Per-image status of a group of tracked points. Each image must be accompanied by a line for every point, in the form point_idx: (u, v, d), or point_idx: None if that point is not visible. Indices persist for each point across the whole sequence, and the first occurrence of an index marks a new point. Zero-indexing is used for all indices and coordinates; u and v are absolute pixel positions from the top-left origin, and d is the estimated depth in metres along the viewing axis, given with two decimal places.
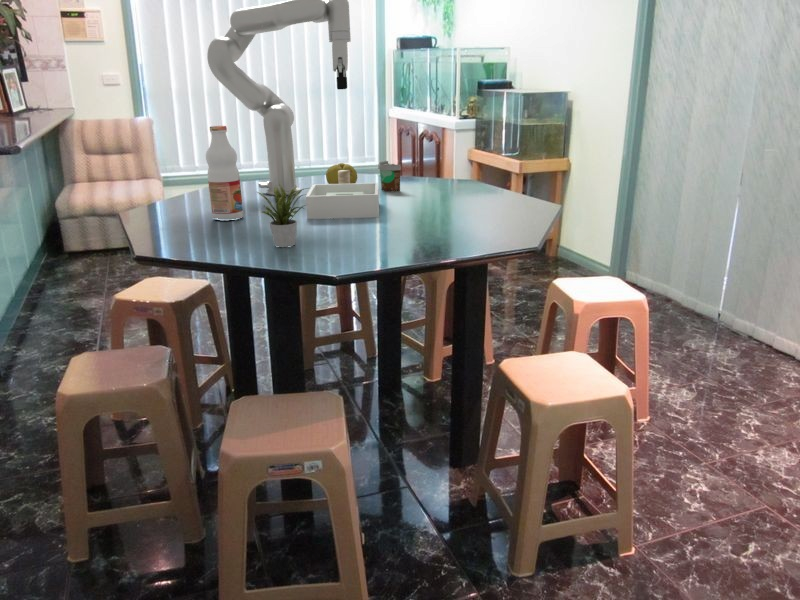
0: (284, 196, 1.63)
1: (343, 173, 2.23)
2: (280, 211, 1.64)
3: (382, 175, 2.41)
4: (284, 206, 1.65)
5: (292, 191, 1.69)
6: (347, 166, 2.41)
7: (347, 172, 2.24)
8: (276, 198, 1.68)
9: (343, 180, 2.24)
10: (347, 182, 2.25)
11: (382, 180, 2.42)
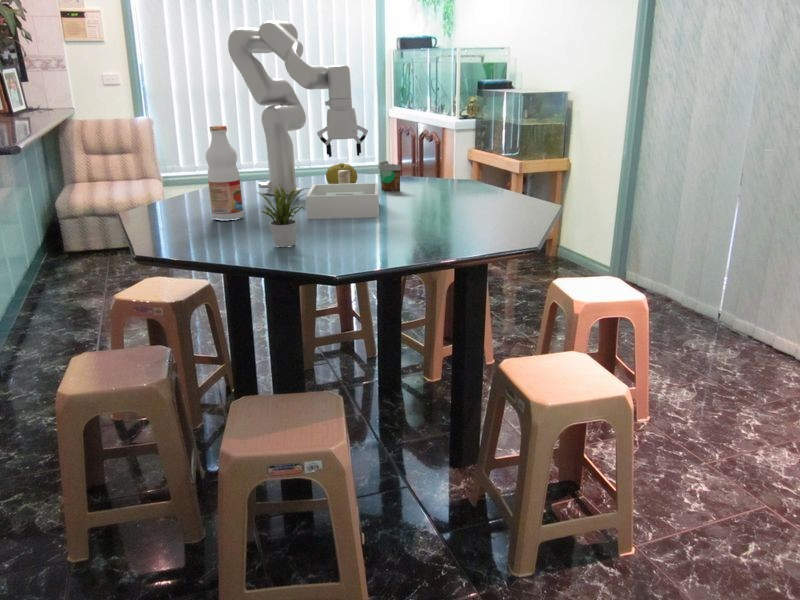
0: (284, 196, 1.63)
1: (343, 173, 2.23)
2: (280, 211, 1.64)
3: (382, 175, 2.41)
4: (284, 206, 1.65)
5: (292, 191, 1.69)
6: (347, 166, 2.41)
7: (347, 172, 2.24)
8: (276, 198, 1.68)
9: (343, 180, 2.24)
10: (347, 182, 2.25)
11: (382, 180, 2.42)
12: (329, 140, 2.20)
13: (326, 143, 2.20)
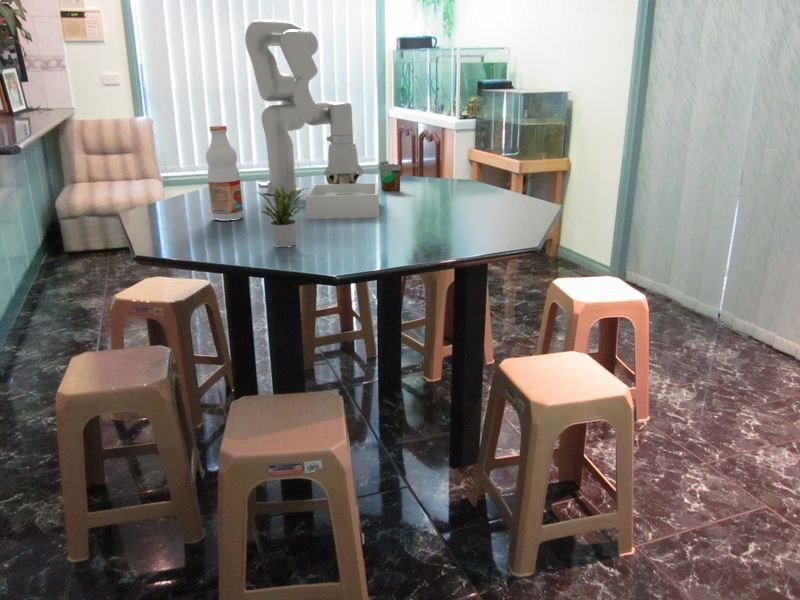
0: (284, 196, 1.63)
1: None
2: (280, 211, 1.64)
3: (382, 175, 2.41)
4: (284, 206, 1.65)
5: (292, 191, 1.69)
6: None
7: None
8: (276, 198, 1.68)
9: (343, 180, 2.24)
10: (347, 182, 2.25)
11: (382, 180, 2.42)
12: (337, 178, 2.25)
13: (334, 181, 2.25)
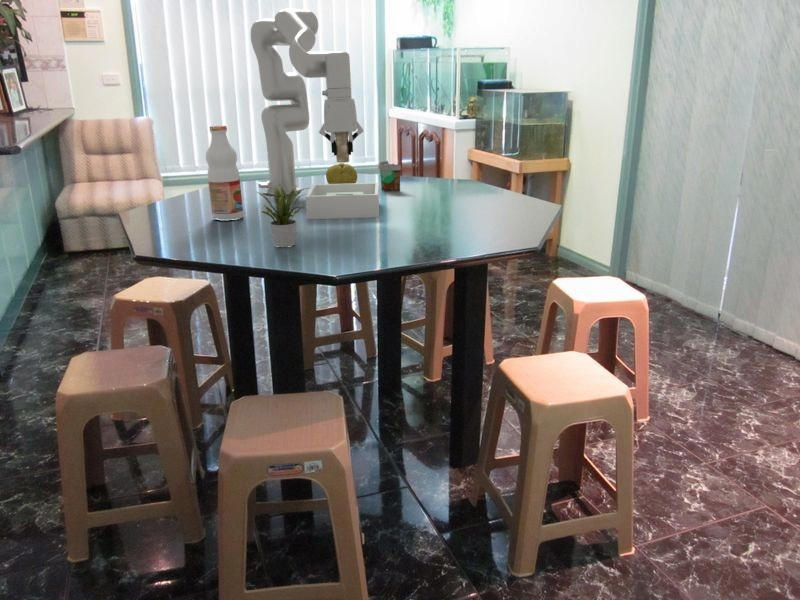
0: (284, 196, 1.63)
1: None
2: (280, 211, 1.64)
3: (382, 175, 2.41)
4: (284, 206, 1.65)
5: (292, 191, 1.69)
6: (347, 166, 2.41)
7: None
8: (276, 198, 1.68)
9: (340, 139, 2.02)
10: (345, 141, 2.03)
11: (382, 180, 2.42)
12: (334, 137, 2.02)
13: (331, 140, 2.03)
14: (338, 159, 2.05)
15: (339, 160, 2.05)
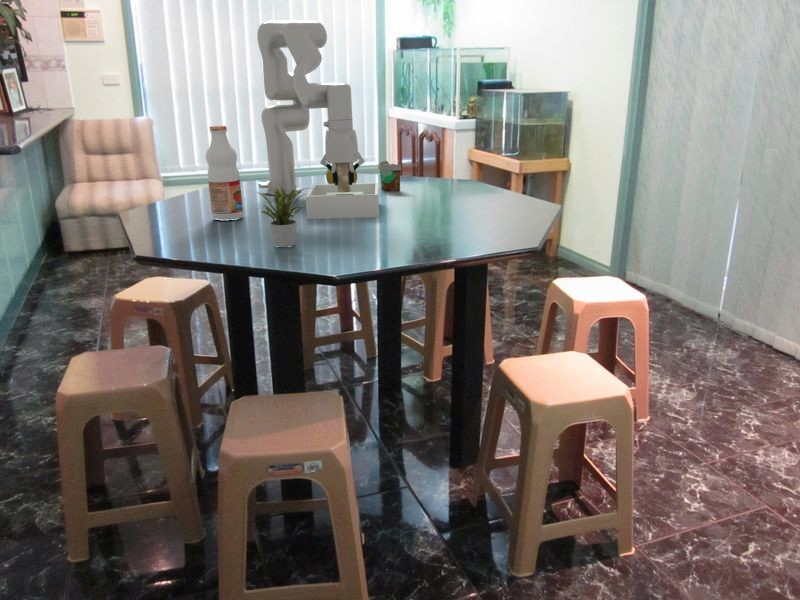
0: (284, 196, 1.63)
1: None
2: (280, 211, 1.64)
3: (382, 175, 2.41)
4: (284, 206, 1.65)
5: (292, 191, 1.69)
6: None
7: None
8: (276, 198, 1.68)
9: (341, 169, 2.03)
10: (346, 172, 2.04)
11: (382, 180, 2.42)
12: None
13: (332, 171, 2.04)
14: (339, 189, 2.06)
15: (340, 190, 2.06)
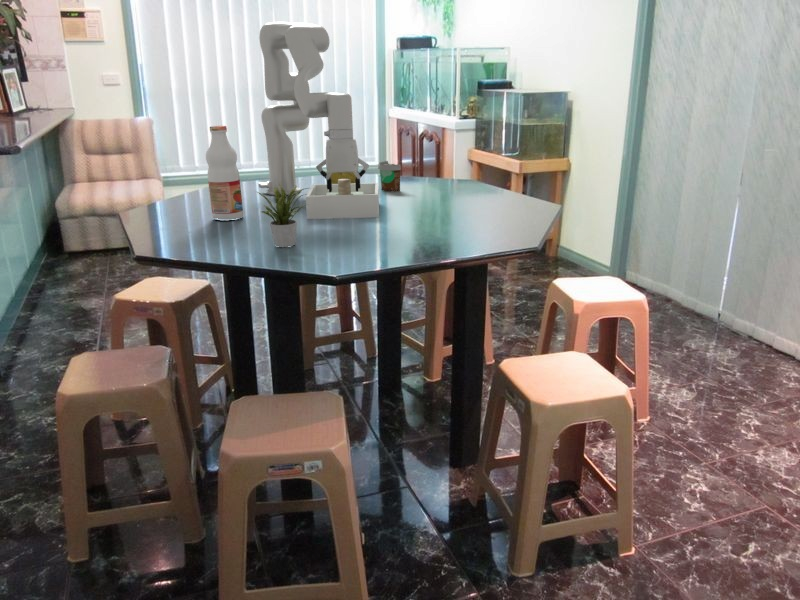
0: (284, 196, 1.63)
1: (343, 182, 2.05)
2: (280, 211, 1.64)
3: (382, 175, 2.41)
4: (284, 206, 1.65)
5: (292, 191, 1.69)
6: None
7: (348, 181, 2.05)
8: (276, 198, 1.68)
9: (343, 190, 2.05)
10: (348, 192, 2.06)
11: (382, 180, 2.42)
12: (330, 174, 2.04)
13: (326, 177, 2.05)
14: None
15: None
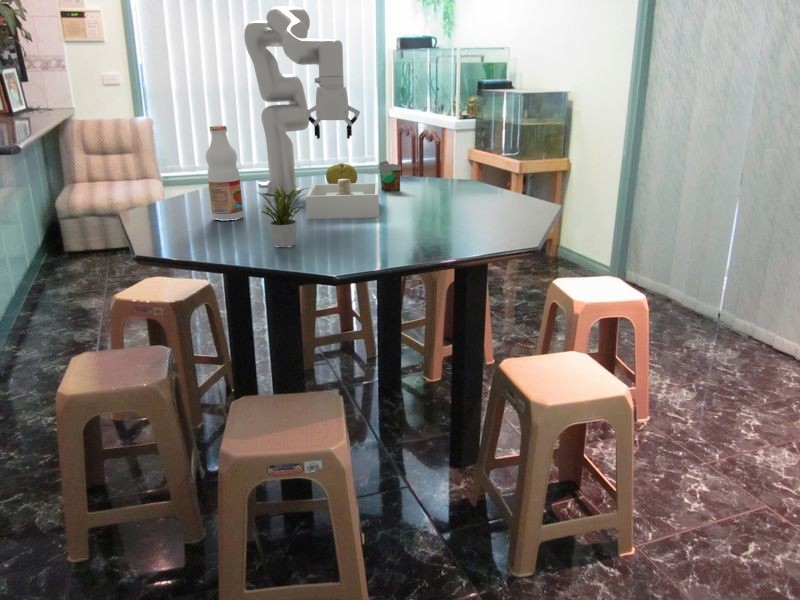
0: (284, 196, 1.63)
1: (343, 182, 2.05)
2: (280, 211, 1.64)
3: (382, 175, 2.41)
4: (284, 206, 1.65)
5: (292, 191, 1.69)
6: (347, 166, 2.41)
7: (348, 181, 2.05)
8: (276, 198, 1.68)
9: (343, 190, 2.05)
10: (348, 192, 2.06)
11: (382, 180, 2.42)
12: (318, 120, 2.05)
13: (314, 124, 2.05)
14: None
15: None
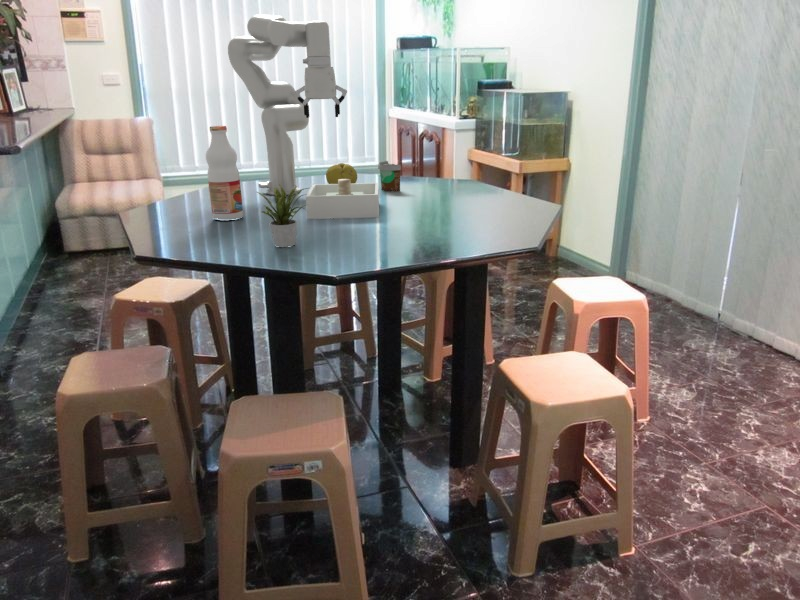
0: (284, 196, 1.63)
1: (343, 182, 2.05)
2: (280, 211, 1.64)
3: (382, 175, 2.41)
4: (284, 206, 1.65)
5: (292, 191, 1.69)
6: (347, 166, 2.41)
7: (348, 181, 2.05)
8: (276, 198, 1.68)
9: (343, 190, 2.05)
10: (348, 192, 2.06)
11: (382, 180, 2.42)
12: (307, 100, 2.13)
13: (303, 103, 2.13)
14: None
15: None
